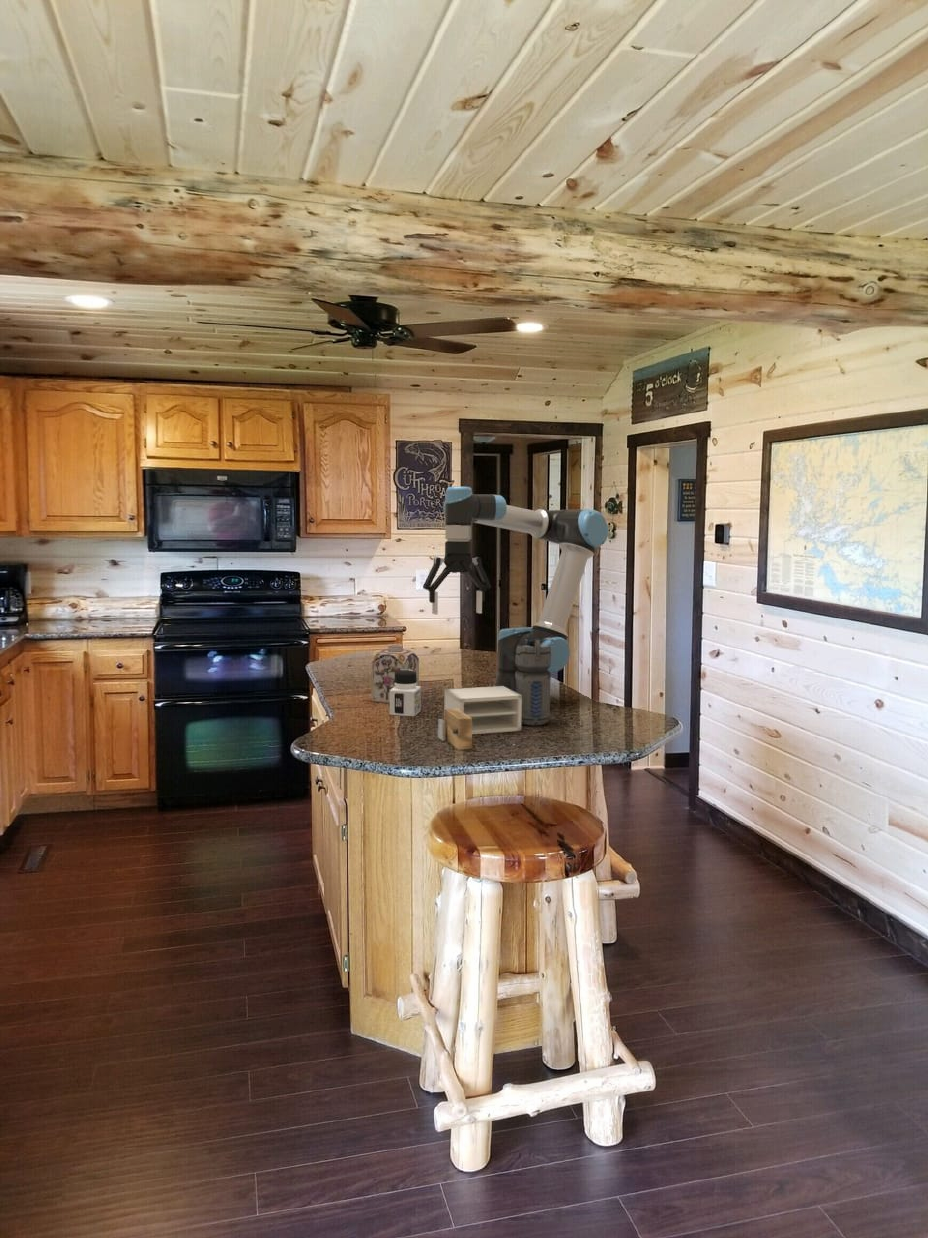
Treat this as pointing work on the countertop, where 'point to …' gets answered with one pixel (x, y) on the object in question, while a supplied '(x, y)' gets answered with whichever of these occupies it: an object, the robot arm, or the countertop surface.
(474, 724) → the block
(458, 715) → the oak door
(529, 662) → the beverage bottle
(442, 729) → the bracket
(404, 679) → the container
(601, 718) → the countertop surface
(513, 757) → the countertop surface
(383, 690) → the decorative jar
